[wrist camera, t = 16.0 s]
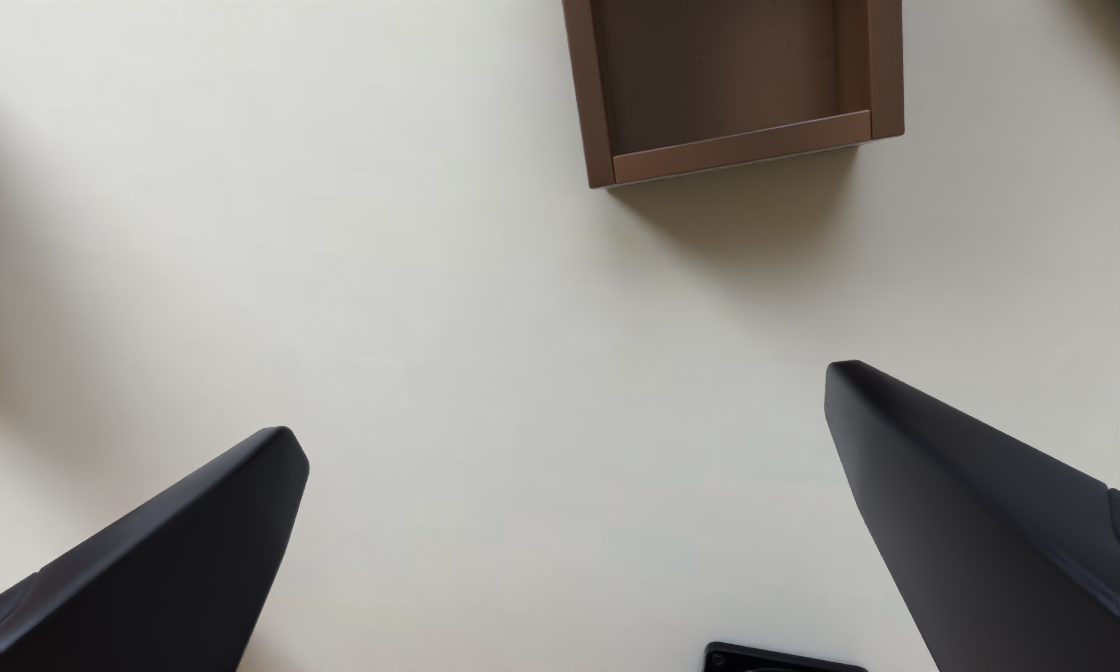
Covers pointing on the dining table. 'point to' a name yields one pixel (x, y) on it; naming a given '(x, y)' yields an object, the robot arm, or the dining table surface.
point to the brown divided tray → (730, 82)
